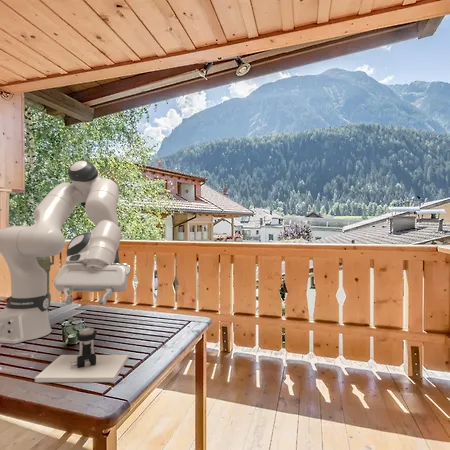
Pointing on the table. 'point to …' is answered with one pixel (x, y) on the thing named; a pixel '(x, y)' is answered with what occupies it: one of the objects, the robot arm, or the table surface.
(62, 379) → the board
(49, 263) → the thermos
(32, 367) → the table surface
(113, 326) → the table surface
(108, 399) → the table surface
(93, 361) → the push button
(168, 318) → the table surface
